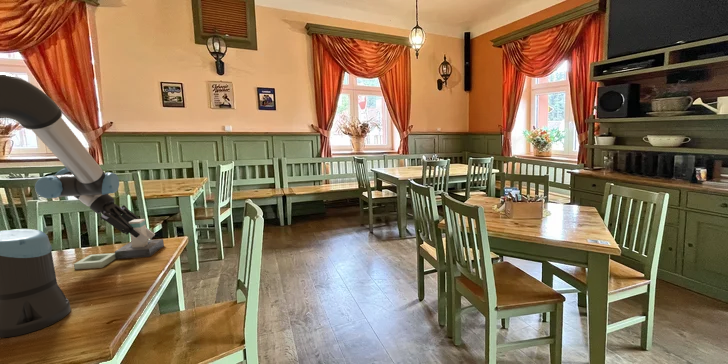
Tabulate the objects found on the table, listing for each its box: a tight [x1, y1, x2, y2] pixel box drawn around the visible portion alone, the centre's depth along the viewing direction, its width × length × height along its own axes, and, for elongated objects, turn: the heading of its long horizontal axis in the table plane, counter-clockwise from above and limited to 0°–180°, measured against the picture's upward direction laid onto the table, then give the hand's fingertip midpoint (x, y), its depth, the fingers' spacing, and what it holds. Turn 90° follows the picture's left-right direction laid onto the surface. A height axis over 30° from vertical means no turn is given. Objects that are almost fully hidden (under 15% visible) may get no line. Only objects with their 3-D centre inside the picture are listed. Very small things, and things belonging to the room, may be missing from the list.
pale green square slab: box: [73, 252, 117, 270], centre depth 125 cm, size 9×9×2 cm
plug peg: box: [128, 218, 149, 248], centre depth 134 cm, size 4×4×11 cm
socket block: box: [114, 238, 165, 260], centre depth 135 cm, size 12×12×3 cm
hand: (149, 238), depth 135 cm, fingers closed on plug peg, 4 cm apart
